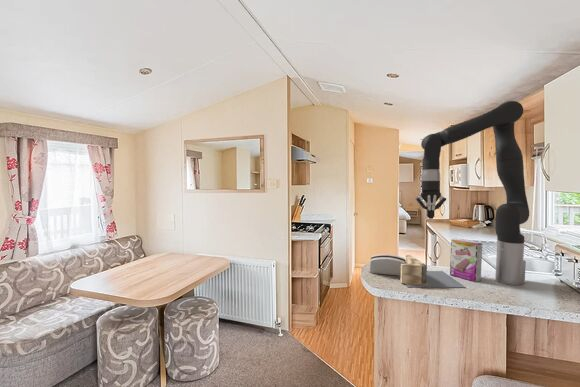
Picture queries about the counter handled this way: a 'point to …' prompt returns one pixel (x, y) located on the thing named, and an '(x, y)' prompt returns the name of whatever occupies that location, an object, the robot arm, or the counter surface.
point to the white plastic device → (386, 264)
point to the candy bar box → (466, 259)
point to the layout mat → (436, 281)
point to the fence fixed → (413, 273)
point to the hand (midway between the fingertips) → (430, 218)
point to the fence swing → (412, 260)
